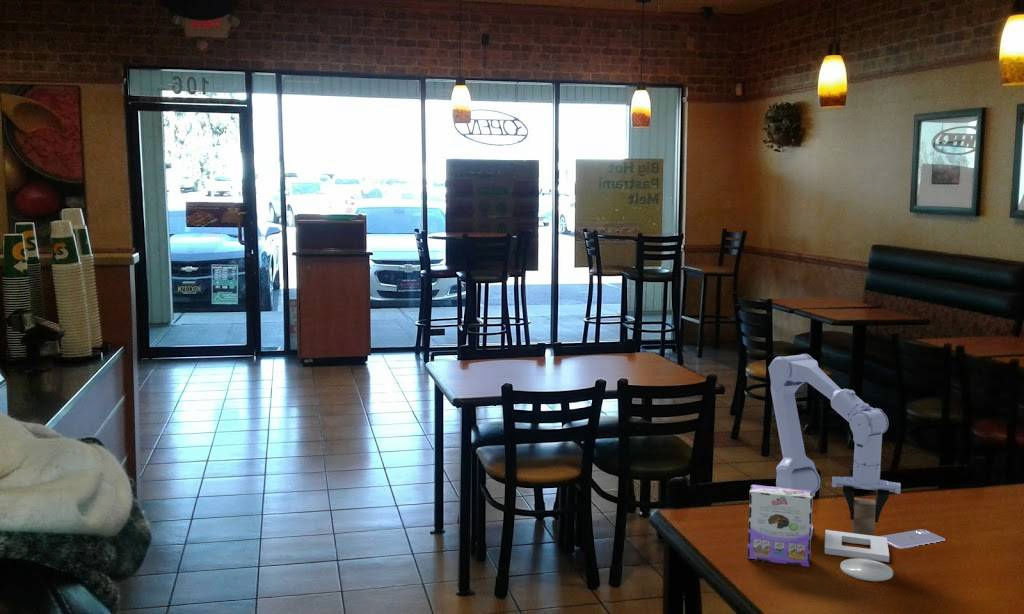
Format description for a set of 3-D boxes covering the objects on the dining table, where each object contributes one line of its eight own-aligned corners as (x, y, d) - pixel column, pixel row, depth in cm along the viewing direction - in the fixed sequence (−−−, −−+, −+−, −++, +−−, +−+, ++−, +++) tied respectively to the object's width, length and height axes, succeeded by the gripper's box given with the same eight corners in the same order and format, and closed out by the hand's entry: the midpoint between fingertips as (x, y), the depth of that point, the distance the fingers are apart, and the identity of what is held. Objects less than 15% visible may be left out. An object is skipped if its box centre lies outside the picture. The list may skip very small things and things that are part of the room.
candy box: (809, 558, 210) (813, 489, 208) (809, 568, 205) (813, 497, 203) (748, 550, 215) (751, 482, 213) (746, 559, 209) (749, 490, 207)
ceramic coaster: (840, 576, 200) (840, 574, 200) (840, 558, 210) (840, 555, 210) (894, 584, 196) (894, 581, 196) (891, 565, 207) (891, 562, 207)
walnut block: (853, 533, 208) (854, 503, 207) (852, 526, 212) (854, 497, 211) (874, 535, 206) (875, 505, 205) (873, 529, 210) (875, 499, 210)
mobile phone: (876, 535, 223) (923, 527, 228) (876, 539, 223) (923, 531, 228) (899, 546, 216) (947, 538, 221) (899, 550, 216) (947, 542, 221)
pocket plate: (824, 553, 213) (824, 547, 213) (825, 535, 224) (825, 529, 224) (888, 562, 208) (889, 555, 208) (886, 543, 220) (886, 537, 219)
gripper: (833, 463, 205) (830, 521, 207) (902, 470, 201) (899, 529, 202) (833, 455, 212) (830, 511, 214) (900, 461, 207) (897, 519, 209)
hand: (864, 519), depth 209 cm, fingers closed on walnut block, 4 cm apart
